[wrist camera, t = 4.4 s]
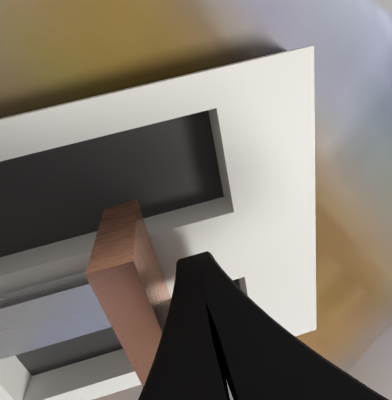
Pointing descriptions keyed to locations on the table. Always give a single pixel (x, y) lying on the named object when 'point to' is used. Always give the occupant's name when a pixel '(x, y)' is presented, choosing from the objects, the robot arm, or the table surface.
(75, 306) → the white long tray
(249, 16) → the table surface
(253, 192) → the pit board
